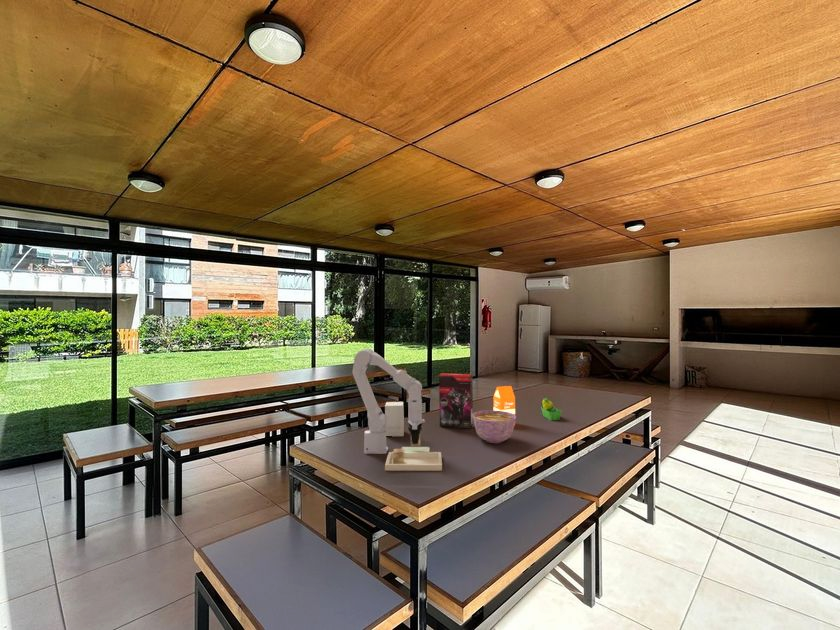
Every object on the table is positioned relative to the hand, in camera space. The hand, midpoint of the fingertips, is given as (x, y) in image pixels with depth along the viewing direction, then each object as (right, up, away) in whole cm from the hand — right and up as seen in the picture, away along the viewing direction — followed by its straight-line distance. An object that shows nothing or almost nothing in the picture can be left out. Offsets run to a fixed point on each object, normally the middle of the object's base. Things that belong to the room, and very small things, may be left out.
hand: (415, 441), depth 168 cm
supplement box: (-10, -5, +26) cm, 29 cm away
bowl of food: (+36, -5, +15) cm, 40 cm away
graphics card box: (+21, -5, +39) cm, 44 cm away
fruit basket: (+75, -4, +54) cm, 93 cm away
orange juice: (+47, -4, +43) cm, 64 cm away
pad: (0, -4, 0) cm, 4 cm away
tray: (0, -4, -14) cm, 15 cm away
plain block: (-6, -4, -14) cm, 16 cm away
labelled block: (0, -1, 0) cm, 1 cm away
